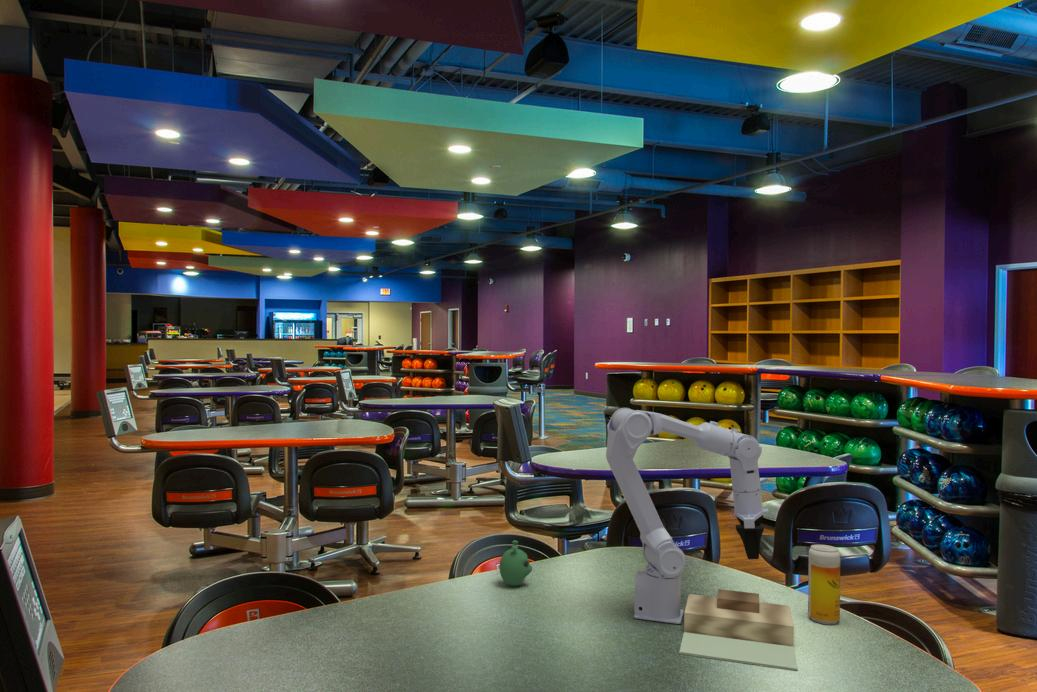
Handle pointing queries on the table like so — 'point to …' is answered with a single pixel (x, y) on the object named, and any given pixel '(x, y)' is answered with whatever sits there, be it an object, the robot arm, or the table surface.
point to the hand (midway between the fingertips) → (753, 553)
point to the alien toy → (514, 566)
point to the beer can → (824, 584)
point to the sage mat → (738, 651)
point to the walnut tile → (738, 601)
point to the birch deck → (739, 621)
